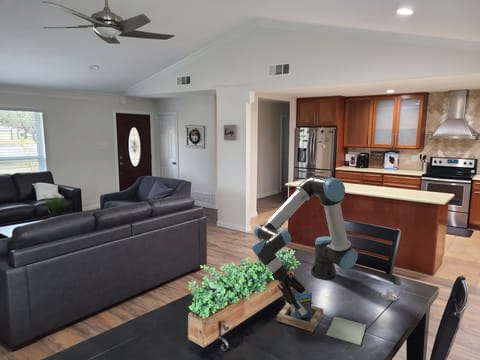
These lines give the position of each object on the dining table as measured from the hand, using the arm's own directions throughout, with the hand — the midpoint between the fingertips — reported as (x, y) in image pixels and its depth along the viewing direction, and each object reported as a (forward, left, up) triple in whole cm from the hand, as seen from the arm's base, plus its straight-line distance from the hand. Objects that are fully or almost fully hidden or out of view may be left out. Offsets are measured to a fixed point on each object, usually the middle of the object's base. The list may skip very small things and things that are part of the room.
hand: (307, 309), depth 155 cm
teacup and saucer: (-41, +29, -6) cm, 50 cm away
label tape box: (0, -3, -5) cm, 6 cm away
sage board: (0, +18, -5) cm, 18 cm away
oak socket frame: (0, -3, -5) cm, 6 cm away
